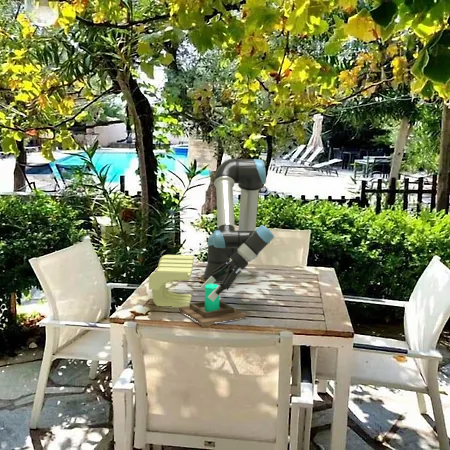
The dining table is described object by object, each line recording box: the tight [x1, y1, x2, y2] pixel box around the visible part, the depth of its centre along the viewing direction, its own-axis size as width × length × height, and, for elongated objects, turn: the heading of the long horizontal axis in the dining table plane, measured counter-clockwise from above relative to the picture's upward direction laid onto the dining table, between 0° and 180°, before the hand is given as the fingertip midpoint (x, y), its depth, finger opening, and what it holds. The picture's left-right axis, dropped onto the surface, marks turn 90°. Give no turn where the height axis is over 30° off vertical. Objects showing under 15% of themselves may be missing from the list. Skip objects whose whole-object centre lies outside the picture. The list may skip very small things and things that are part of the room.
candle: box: [204, 282, 220, 312], centre depth 210 cm, size 6×6×12 cm
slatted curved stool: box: [148, 254, 195, 308], centre depth 225 cm, size 30×16×18 cm, turn 179°
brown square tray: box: [178, 299, 246, 328], centre depth 211 cm, size 20×20×4 cm
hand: (206, 294), depth 209 cm, fingers open, 13 cm apart
